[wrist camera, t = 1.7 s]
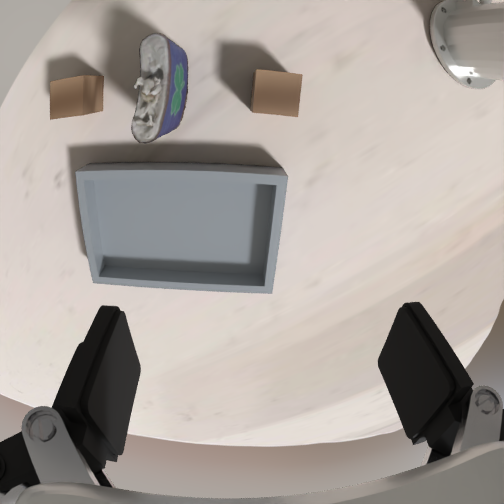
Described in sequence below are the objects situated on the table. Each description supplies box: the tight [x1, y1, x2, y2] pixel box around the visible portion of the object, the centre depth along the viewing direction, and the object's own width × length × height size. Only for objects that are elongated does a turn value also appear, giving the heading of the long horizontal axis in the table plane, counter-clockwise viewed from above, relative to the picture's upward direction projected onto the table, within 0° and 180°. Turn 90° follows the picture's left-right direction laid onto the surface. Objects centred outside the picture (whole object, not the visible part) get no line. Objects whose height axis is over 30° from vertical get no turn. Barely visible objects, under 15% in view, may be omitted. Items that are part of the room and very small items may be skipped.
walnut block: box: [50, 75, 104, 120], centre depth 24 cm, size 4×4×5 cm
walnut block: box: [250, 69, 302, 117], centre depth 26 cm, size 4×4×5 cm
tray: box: [76, 162, 288, 294], centre depth 33 cm, size 14×22×4 cm, turn 85°
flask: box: [131, 33, 188, 143], centre depth 23 cm, size 9×3×11 cm, turn 172°
